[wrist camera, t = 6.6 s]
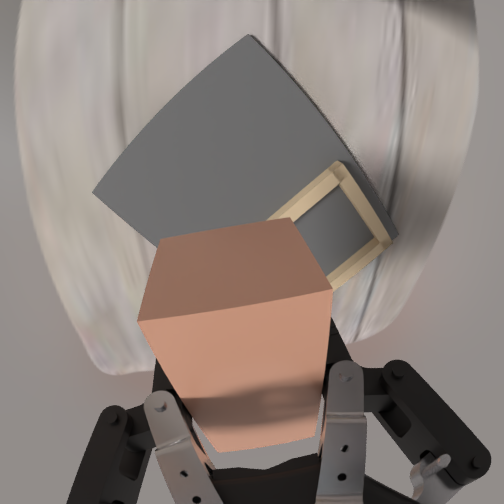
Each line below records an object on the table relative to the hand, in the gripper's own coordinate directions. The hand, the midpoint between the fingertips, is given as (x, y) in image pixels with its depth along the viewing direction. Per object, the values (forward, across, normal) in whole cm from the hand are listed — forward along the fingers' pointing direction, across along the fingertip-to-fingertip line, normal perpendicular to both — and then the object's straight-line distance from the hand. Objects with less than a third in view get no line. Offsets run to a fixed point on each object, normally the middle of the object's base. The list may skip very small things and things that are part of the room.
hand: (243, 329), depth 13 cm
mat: (+13, -3, 0) cm, 14 cm away
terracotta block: (0, 0, 0) cm, 0 cm away
